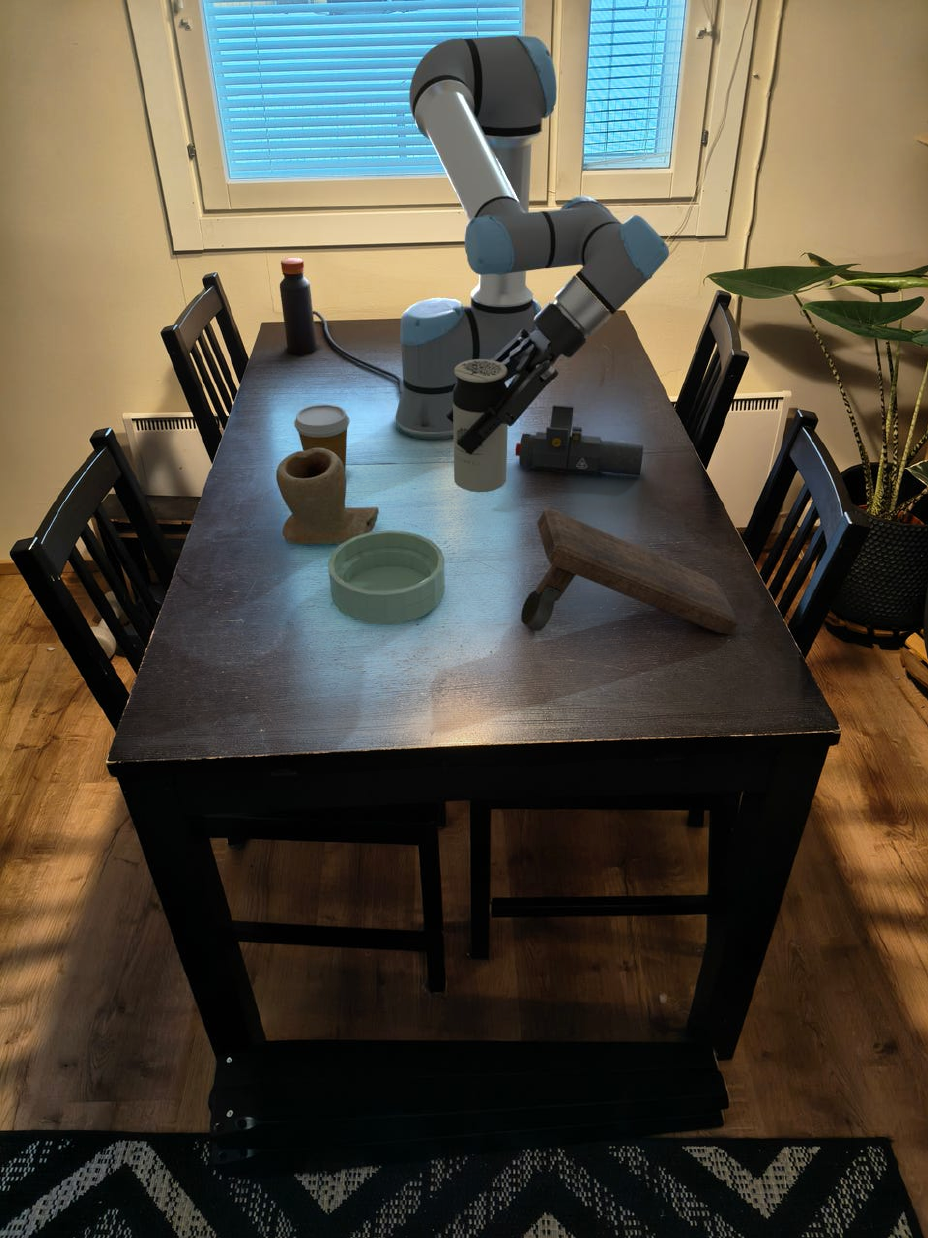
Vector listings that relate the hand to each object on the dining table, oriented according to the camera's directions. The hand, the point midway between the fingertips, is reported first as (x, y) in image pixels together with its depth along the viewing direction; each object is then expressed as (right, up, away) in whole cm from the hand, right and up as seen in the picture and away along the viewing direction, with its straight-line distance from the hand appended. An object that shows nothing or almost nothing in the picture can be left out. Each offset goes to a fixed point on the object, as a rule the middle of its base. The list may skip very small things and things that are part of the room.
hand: (458, 434), depth 135 cm
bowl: (-10, -23, +1) cm, 26 cm away
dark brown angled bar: (+24, -27, -4) cm, 37 cm away
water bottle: (-37, +36, +79) cm, 94 cm away
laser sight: (+21, 0, +31) cm, 38 cm away
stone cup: (-21, -14, +14) cm, 29 cm away
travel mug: (+3, -6, +6) cm, 9 cm away
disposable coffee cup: (-24, -2, +30) cm, 38 cm away
